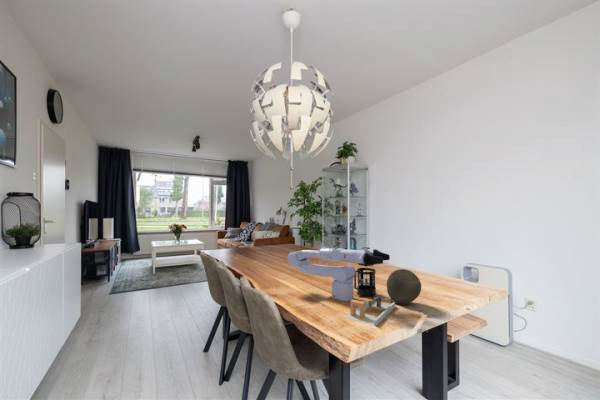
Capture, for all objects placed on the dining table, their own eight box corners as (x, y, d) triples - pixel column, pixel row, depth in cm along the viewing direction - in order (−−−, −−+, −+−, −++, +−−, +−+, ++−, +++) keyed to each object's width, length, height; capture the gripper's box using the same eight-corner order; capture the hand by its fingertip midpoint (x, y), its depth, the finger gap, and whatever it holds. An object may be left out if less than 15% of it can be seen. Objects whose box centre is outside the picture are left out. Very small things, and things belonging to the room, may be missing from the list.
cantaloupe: (390, 309, 114) (389, 273, 114) (384, 297, 127) (384, 266, 128) (425, 310, 112) (424, 274, 112) (415, 299, 126) (415, 266, 126)
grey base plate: (343, 320, 103) (343, 312, 103) (365, 303, 120) (365, 296, 121) (376, 329, 95) (376, 320, 95) (395, 309, 113) (395, 302, 113)
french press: (370, 290, 139) (370, 245, 140) (381, 295, 130) (380, 248, 131) (350, 292, 136) (349, 246, 136) (359, 298, 127) (359, 249, 127)
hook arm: (368, 317, 105) (367, 301, 105) (377, 308, 114) (377, 293, 114) (371, 318, 104) (371, 302, 104) (381, 309, 113) (381, 294, 113)
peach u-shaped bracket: (350, 315, 105) (350, 301, 105) (353, 313, 106) (352, 299, 107) (362, 318, 102) (362, 303, 102) (365, 316, 104) (364, 302, 104)
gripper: (348, 250, 115) (378, 252, 107) (362, 245, 127) (391, 246, 119) (349, 266, 115) (379, 270, 107) (363, 260, 127) (392, 262, 118)
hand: (386, 259), depth 113 cm, fingers open, 7 cm apart
